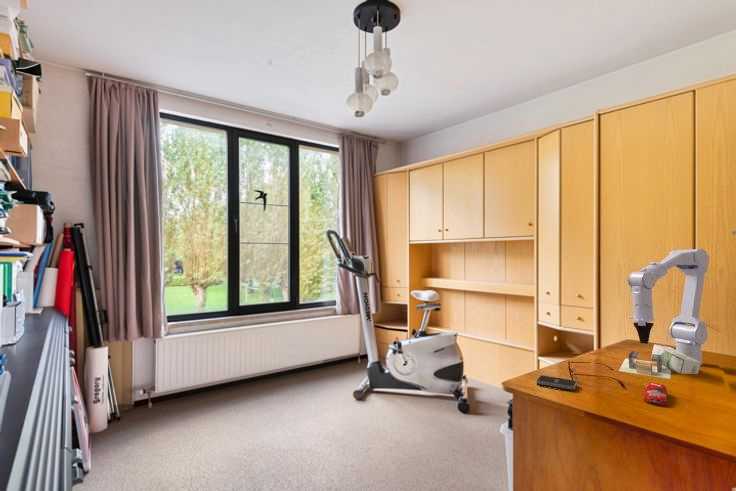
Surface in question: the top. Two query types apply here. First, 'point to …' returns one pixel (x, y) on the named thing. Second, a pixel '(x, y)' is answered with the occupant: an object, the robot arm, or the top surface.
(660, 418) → the top surface
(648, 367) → the wooden block
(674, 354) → the syrup box
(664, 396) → the race car
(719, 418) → the top surface
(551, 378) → the external hard drive
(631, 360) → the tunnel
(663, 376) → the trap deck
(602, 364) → the eyeglasses
